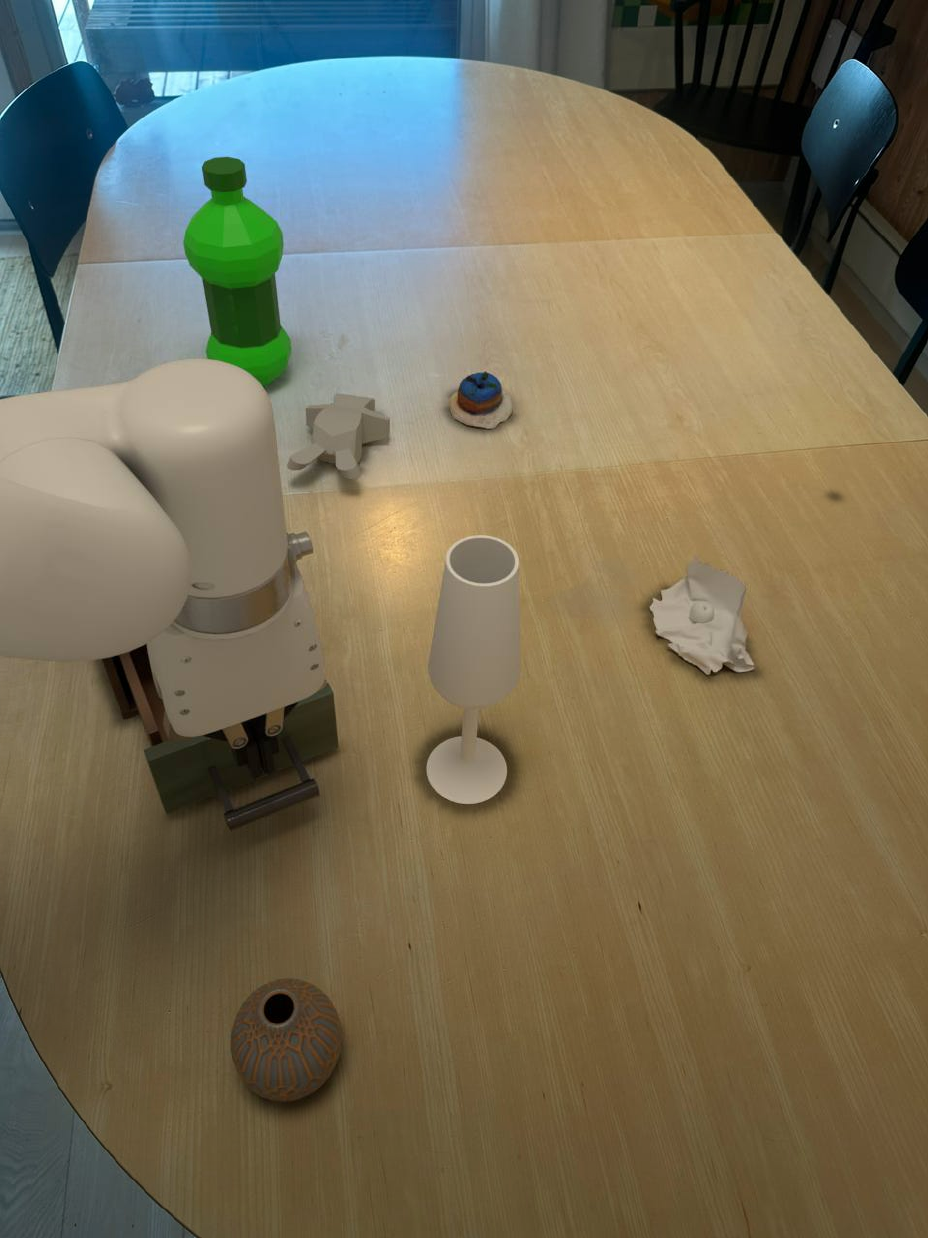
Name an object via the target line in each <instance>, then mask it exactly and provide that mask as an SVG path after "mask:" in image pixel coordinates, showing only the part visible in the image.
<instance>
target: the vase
mask: <svg viewBox="0 0 928 1238" xmlns="http://www.w3.org/2000/svg"><path fill="white" fill-rule="evenodd" d="M342 1037H343V1035H342V1023H341V1020H340V1016H339V1013H338V1011H337V1009H336V1007H335V1004H334V1003H333V1001H332V1000H331V999H330V997H329V996H328V995H327V994H326V993H325V992H324V991H323V990H322V989H321V988H319V987H318V986H316V985H314V984H313V983H311V982H308V981H307V980H303V979H299V978H291V977H289V978H279V979H274V980H271V981H268V982H267V983H265V984H263V985H261V986H259V987H258V988H257V989H255V990H254V991H252V993H251V994H249V996H247V998H246V999H245V1000H244V1002H242V1004H241V1006H240V1007H239V1009H238V1011H237V1014H236V1016H235V1018H234V1021H233V1023H232V1028H231V1033H230V1054H231V1058H232V1062H233V1065H234V1068H235V1070H236V1072H237V1074H238V1076H239V1077H240V1079H241V1080H242V1081H243V1083H244V1084H245V1085H246V1086H247V1087H248V1089H250V1090H251V1091H252V1092H253V1093H255V1094H256V1095H258V1096H260V1097H262V1098H264V1099H267V1100H270V1101H274V1102H291V1101H296V1100H300V1099H303V1098H305V1097H307V1096H309V1095H311V1094H312V1093H314V1092H316V1091H317V1090H319V1088H320V1087H322V1086H323V1085H324V1083H325V1082H327V1080H328V1079H329V1078H330V1076H331V1075H332V1073H333V1071H334V1070H335V1068H336V1065H337V1064H338V1061H339V1058H340V1056H341V1050H342V1042H343V1038H342Z"/></svg>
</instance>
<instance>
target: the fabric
mask: <svg viewBox="0 0 928 1238" xmlns="http://www.w3.org/2000/svg"><path fill="white" fill-rule="evenodd" d="M685 568H686V569H685V571H686V576H684V577H683V578H682V579H680V580H678V581H677V582H676V583H675V584H673V585H672V586H671V587H669V588H667V589H661V592H660V593H661V600H659V599H657V598H655V597H652V602H651V605H649V610H650V612H652V615H653V618H652V621H653V624H654V627H655V629H656V630H655V631H654V632H655V634H656V635H657V636H658V637H659V636H660V637H661V638H663V639H666V640H668V641H669V642H670V643H668V644H667V646H668V647H669V648H670V649H671V650H673V651H674V652H675V653H677V654H678V657H679V656H680V657H681V658H683V660H684V661H687V662H688V663H690V664H692V665H693V666H697V667H698V668H699V670H701V671H702V672H703V673H705V675H707V676H710V675H711V671H712V672H713V673H718V671H720V670H721V669H723V666H725V667H727V668H728V669H730V670H732V671H734V672H735V673H747V672H750V671H753V670H754V669H755V668H756V667H755V663H754V662H753V659H752V658H751V656H750V654H749V653H748V652H747V650H746V649H747V642H746V641H747V639H748V638H747V637H748V635H749V632H748V630H747V628H746V626H745V625H744V622H743V621H742V616H743V615H742V613H743V607H744V601H745V596H746V591H747V587H746V585H744V583H743V582H742V580H740V579H738V578H736V577H735V576H734V575H733V574H730V573H729V572H728V571H724V570H723V569H721V568H718V567H713V566H712V565H711V564H709V563H707V562H702V561H701V560H698V557H697V555H694V556H693V558H692V559H691V560H690V562H689V563H688V564H687V565H686V567H685Z"/></svg>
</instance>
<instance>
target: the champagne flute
mask: <svg viewBox="0 0 928 1238" xmlns="http://www.w3.org/2000/svg"><path fill="white" fill-rule="evenodd" d="M520 601H521V600H520V558H519V555H518V553H517V551H516V550H515V548H514V547H513V546H511V545H510V544H509V543H508V542H506V541H505V540H504V539H501V538H498V537H495V536H491V535H485V534H484V535H483V534H481V535H479V534H478V535H476V534H475V535H470V536H466V537H463V538H460V539H459V540H457V541H456V542H454V543H452V545H451V546H450V547H449V548H448V549H447V552H446V555H445V561H444V566H443V572H442V579H441V585H440V592H439V597H438V604H437V609H436V614H435V615H436V616H435V622H434V626H433V627H434V628H433V634H432V639H431V647H430V651H429V659H428V665H427V670H428V672H427V673H428V676H429V679H430V683H431V684H432V687H433V688H434V690H435V691H436V692H437V693H438V694H439V695H440V696H441V697H442V698H443V699H444V700H446V701H447V702H448V703H450V704H452V705H453V706H456V707H458V708H461V709H463V711H462V712H463V713H462V730H461V735H460V736H454V737H450V738H448V739H445V740H444V741H442V742H441V743H439V744H438V745H437V746H436V747H435V748H434V749H433V750H432V752H431V753H430V754H429V757H428V758H427V761H426V762H427V763H426V776H427V779H428V782H429V784H430V786H431V787H432V788H433V790H434V791H435V792H436V794H438V795H440V796H441V797H443V798H444V799H447V800H448V801H450V802H454V803H457V804H462V805H463V804H464V805H475V804H478V803H482V802H485V801H488V800H489V799H491V798H493V797H495V795H497V794H498V793H499V792H500V791H501V789H503V786H504V785H505V783H506V780H507V776H508V767H507V762H506V760H505V757H504V755H503V754H502V752H501V751H500V750H499V748H498V747H496V746H495V745H494V744H493V743H491V742H490V741H487V740H485V739H483V738H480V737H477V736H478V726H479V714H480V710H485V709H489V708H491V707H495V706H497V705H498V704H500V703H501V702H503V701H504V700H506V699H507V698H508V697H509V696H510V695H511V694H512V693H513V692H514V690H515V689H516V687H517V685H518V683H519V681H520V678H521V612H520V611H521V610H520V608H521V606H520V605H521V602H520Z"/></svg>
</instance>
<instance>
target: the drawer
mask: <svg viewBox="0 0 928 1238" xmlns="http://www.w3.org/2000/svg"><path fill="white" fill-rule="evenodd" d="M118 658H119V661H120V664H121V666H122V669H123V672H124V674H125V677H126V680H127V683H128V685H129V688H130V691H131V693H132V696H133V699H134V701H135V704H136V707H137V710H138V712H139V714H138V715H139V717H140V720H141V724H142V726H143V728H144V732H145V734H146V737H147V739H148V741H149V744H150V747H147V748H144V749H143V753H144V756H145V759H146V762H147V765H148V768H149V771H150V773H151V776H152V779H153V782H154V785H155V788H156V791H157V793H158V796H159V799H160V801H161V804H162V808H163V810H164V813H165V814H166V815H170V814H172V813H174V812H177V811H179V810H182V809H184V808H187V807H189V806H192V805H196V804H197V803H199V802H202V801H205V800H207V799H210V798H213V797H215V796H218V799H219V801H220V803H221V806H222V808H223V810H224V813H223V818H224V821H225V824H226V826H227V828H228V831H229V832H231V833H232V832H234V831H236V830H238V829H242V828H244V827H246V826H249V825H251V824H253V823H256V822H258V821H261V820H264V819H266V818H268V817H270V816H273V815H275V814H278V813H280V812H283V811H285V810H288V809H290V808H292V807H295V806H298V805H301V804H303V803H305V802H307V801H310V800H313V799H314V798H318V797H319V796H320V795H321V791H320V788H319V785H318V783H317V781H316V779H315V778H311V777H310V775H309V773H308V770H307V768H306V766H305V765H304V763H303V762H304V761H307V760H309V759H312V758H315V757H317V756H320V755H323V754H325V753H328V752H330V751H333V750H335V749H338V748H339V737H338V736H339V735H338V726H337V724H338V723H337V716H336V706H335V705H336V704H335V693H334V691H333V689H332V687H331V686H330V684H329V682H326V683H327V684H326V686H325V687H324V688H323V689H322V690H320V691H318V692H316V693H314V694H313V695H311V696H309V697H307V698H305V699H303V700H301V701H299V702H298V704H297V705H296V706H295V707H294V708H293V710H292V711H291V712H290V713H289V714H288V715H287V716H286V717H285V718H284V719H283V728H282V730H281V732H280V733H279V734H277V737H278V744H279V750H280V752H278V753H276V754H273V760H274V766H275V772H274V773H276V772H279V771H282V770H285V769H287V768H290V767H291V766H293V767H294V768H295V771H296V773H297V775H298V777H299V779H300V782H299V783H297V784H294V785H293V786H289V787H287V788H285V789H282V790H280V791H277V792H275V793H272V794H270V795H268V796H265V797H262V798H259V799H257V800H255V801H252V802H250V803H247V804H244V805H242V806H240V807H237V808H234V806H233V804H232V801H231V800H230V797H229V795H228V792H227V791H230V790H233V789H235V788H238V787H240V786H243V785H246V784H248V783H251V782H254V781H255V780H253V779H252V776H251V774H250V772H249V770H248V767H247V765H244V766H241V767H238V766H237V764H236V762H235V760H234V757H233V755H232V751H231V748H230V744H229V742H227V741H222V740H217V739H213V738H208V737H205V736H203V735H201V736H198V737H195V738H190V739H185V740H180V741H175V742H172V741H170V740H169V739H168V736H167V734H166V731H165V729H164V726H163V721H164V711H165V707H164V703H163V699H161V698H160V697H159V695H158V692H157V689H156V686H155V683H154V679H153V675H152V670H151V665H150V660H149V655H148V650H147V644H145V645H143V646H141V647H139V648H136V649H134V650H132V651H130V652H127V653H123V654H120V655H118ZM246 721H247V720H246ZM262 773H263V775H261V778H264V777H266V776H269V775H268V774H267V773H266V774H265V773H264V771H263V769H262ZM259 779H260V778H258V779H257V780H259Z"/></svg>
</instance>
